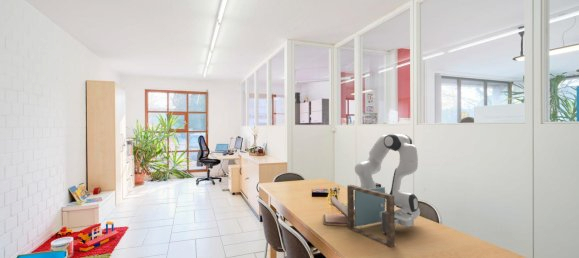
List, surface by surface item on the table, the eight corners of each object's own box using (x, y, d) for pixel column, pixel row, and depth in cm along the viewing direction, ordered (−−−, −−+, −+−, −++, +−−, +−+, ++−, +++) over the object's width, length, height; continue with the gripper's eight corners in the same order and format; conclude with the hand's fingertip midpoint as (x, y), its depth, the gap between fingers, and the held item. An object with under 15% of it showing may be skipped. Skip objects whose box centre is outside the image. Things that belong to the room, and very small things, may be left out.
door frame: (347, 228, 171) (347, 185, 171) (351, 227, 173) (350, 184, 172) (391, 247, 144) (390, 196, 143) (394, 245, 145) (394, 195, 145)
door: (357, 227, 168) (357, 191, 167) (354, 226, 171) (354, 190, 170) (387, 221, 177) (386, 187, 177) (383, 220, 180) (383, 186, 180)
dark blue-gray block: (382, 231, 162) (382, 212, 162) (388, 229, 166) (388, 210, 165) (388, 234, 159) (388, 214, 158) (394, 231, 162) (394, 212, 162)
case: (355, 227, 174) (355, 202, 174) (323, 225, 177) (322, 201, 177) (352, 216, 194) (352, 194, 194) (323, 215, 197) (323, 194, 197)
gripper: (387, 207, 178) (373, 211, 170) (415, 215, 160) (402, 220, 153) (387, 216, 178) (373, 220, 170) (416, 226, 161) (402, 231, 153)
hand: (387, 220), depth 161 cm, fingers closed on dark blue-gray block, 4 cm apart
